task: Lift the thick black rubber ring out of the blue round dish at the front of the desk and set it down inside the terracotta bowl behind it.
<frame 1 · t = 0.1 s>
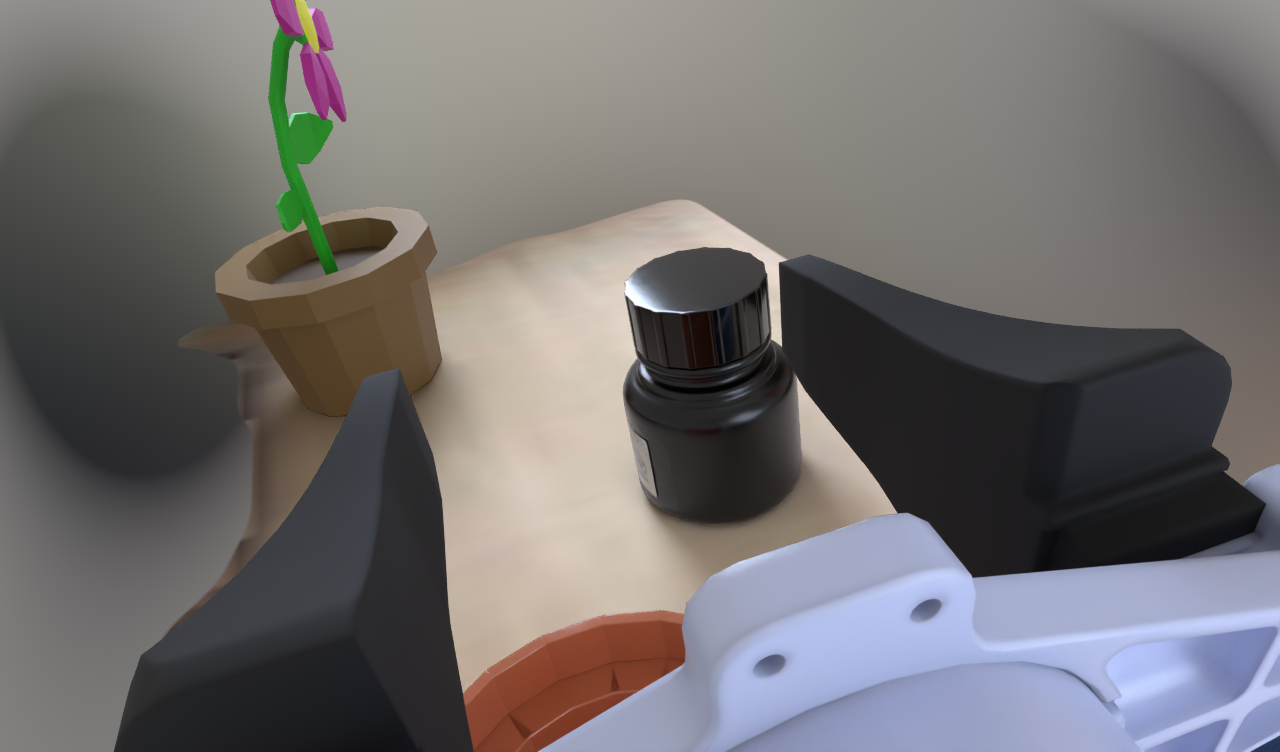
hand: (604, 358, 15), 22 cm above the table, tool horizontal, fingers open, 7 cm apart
ink bottle: (721, 475, 45), on the table
flowerpot: (374, 377, 61), on the table
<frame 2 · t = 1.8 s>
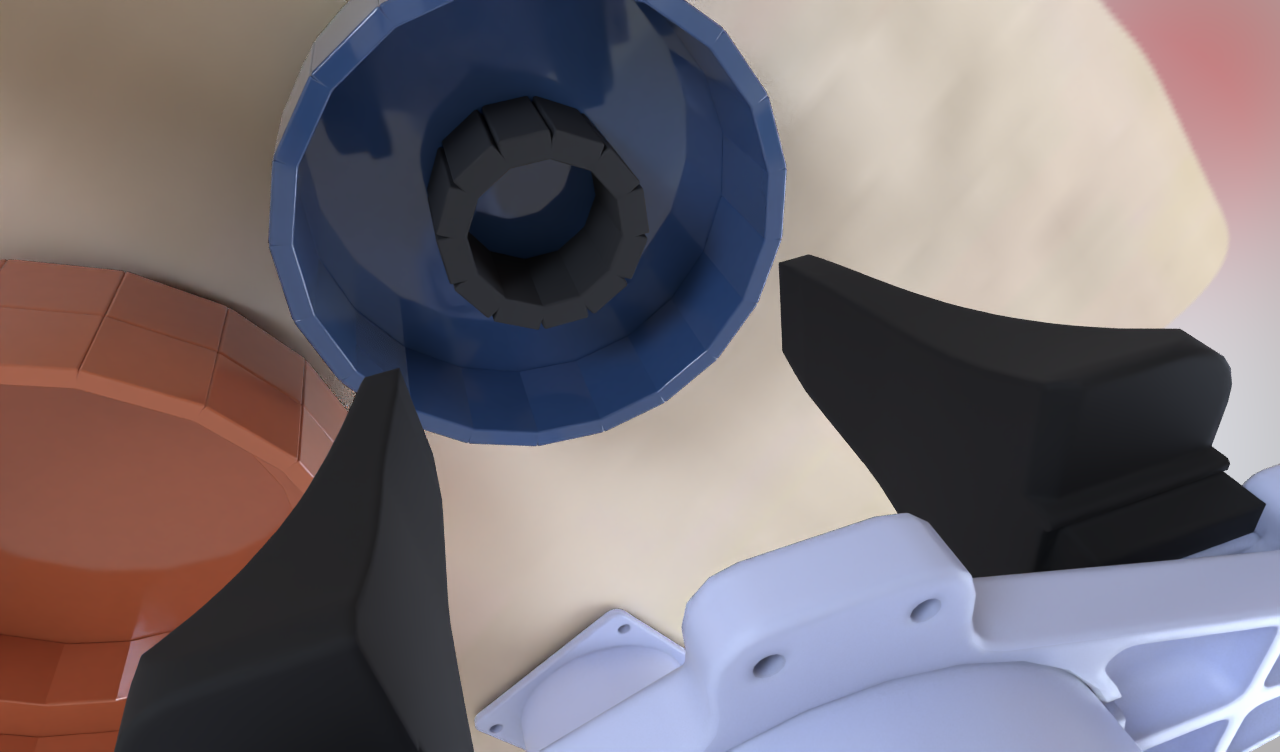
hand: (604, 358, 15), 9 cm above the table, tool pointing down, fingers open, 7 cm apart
bowl: (92, 493, 23), on the table
ring: (526, 193, 22), resting on blue round dish
blue round dish: (523, 186, 22), on the table
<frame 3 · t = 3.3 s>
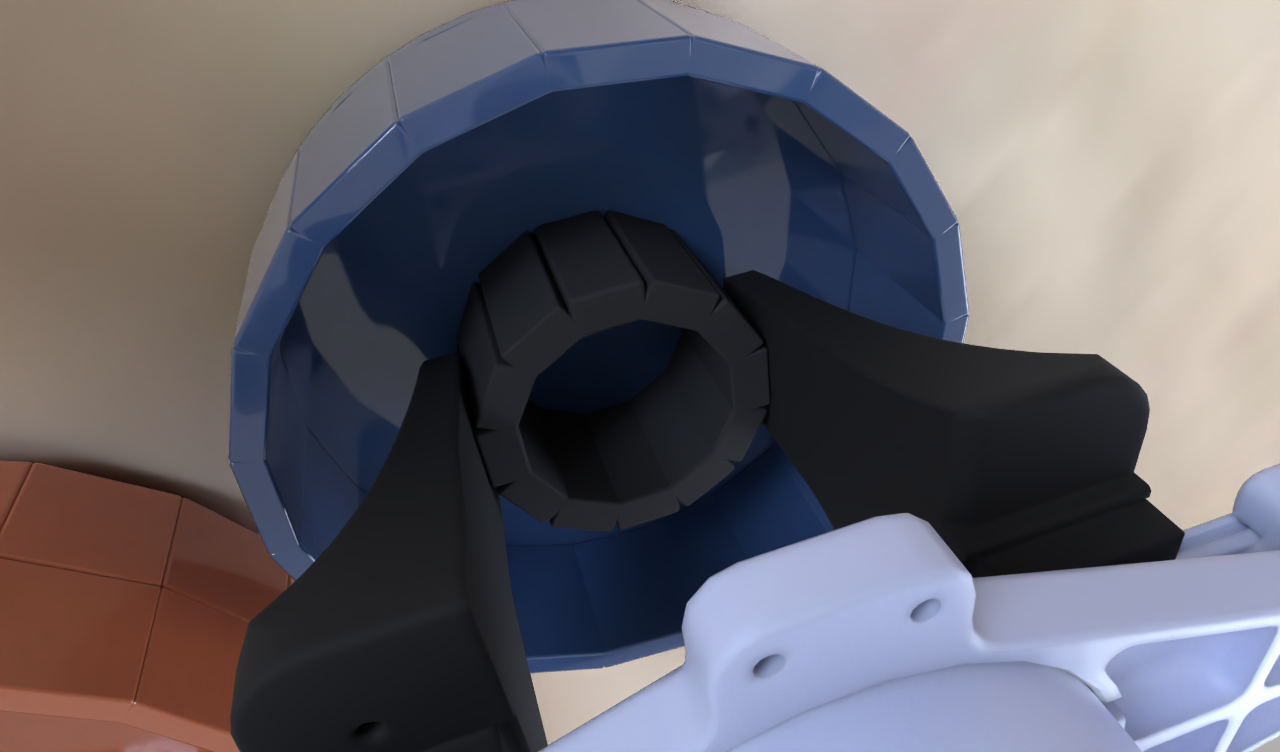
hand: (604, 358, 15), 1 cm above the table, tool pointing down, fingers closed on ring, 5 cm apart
bowl: (7, 718, 18), on the table
ring: (590, 334, 16), point 1 cm above the table, touching blue round dish, gripper
blue round dish: (586, 320, 16), on the table
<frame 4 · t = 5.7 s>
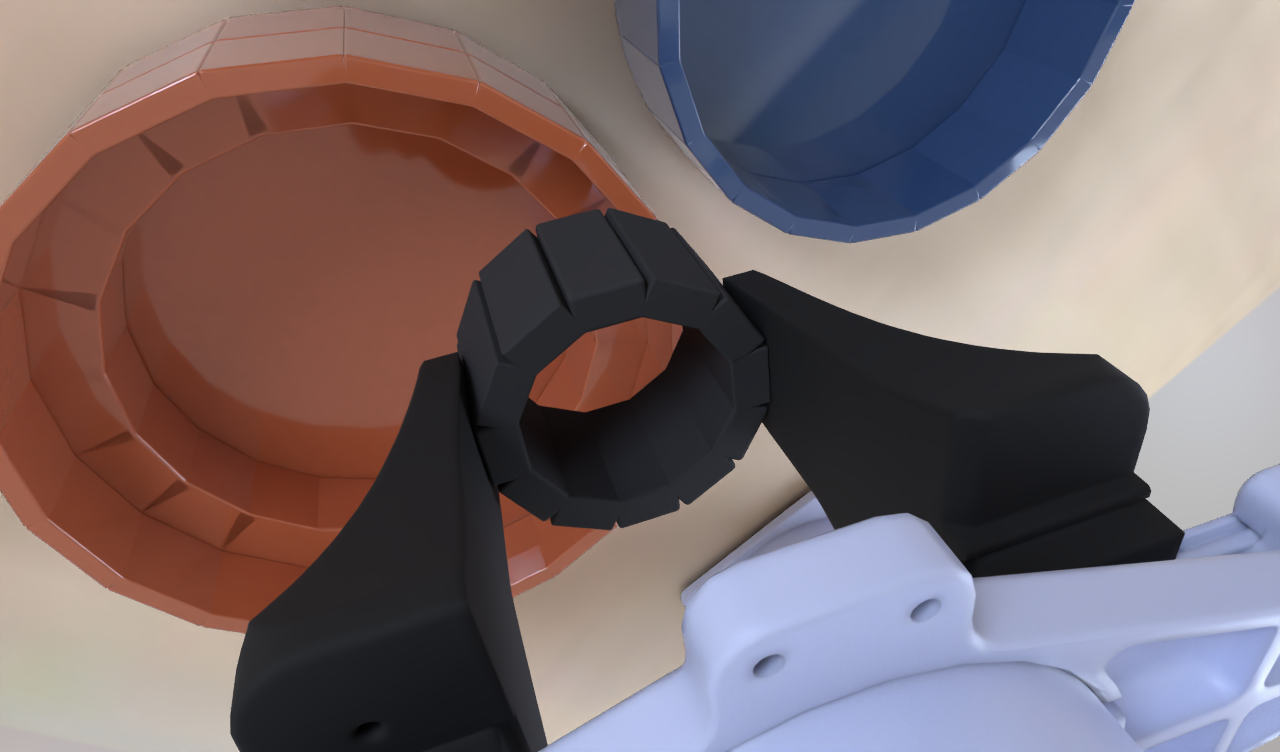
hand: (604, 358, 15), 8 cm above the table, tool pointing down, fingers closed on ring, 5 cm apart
bowl: (368, 304, 22), on the table
ring: (591, 332, 16), point 7 cm above the table, touching gripper
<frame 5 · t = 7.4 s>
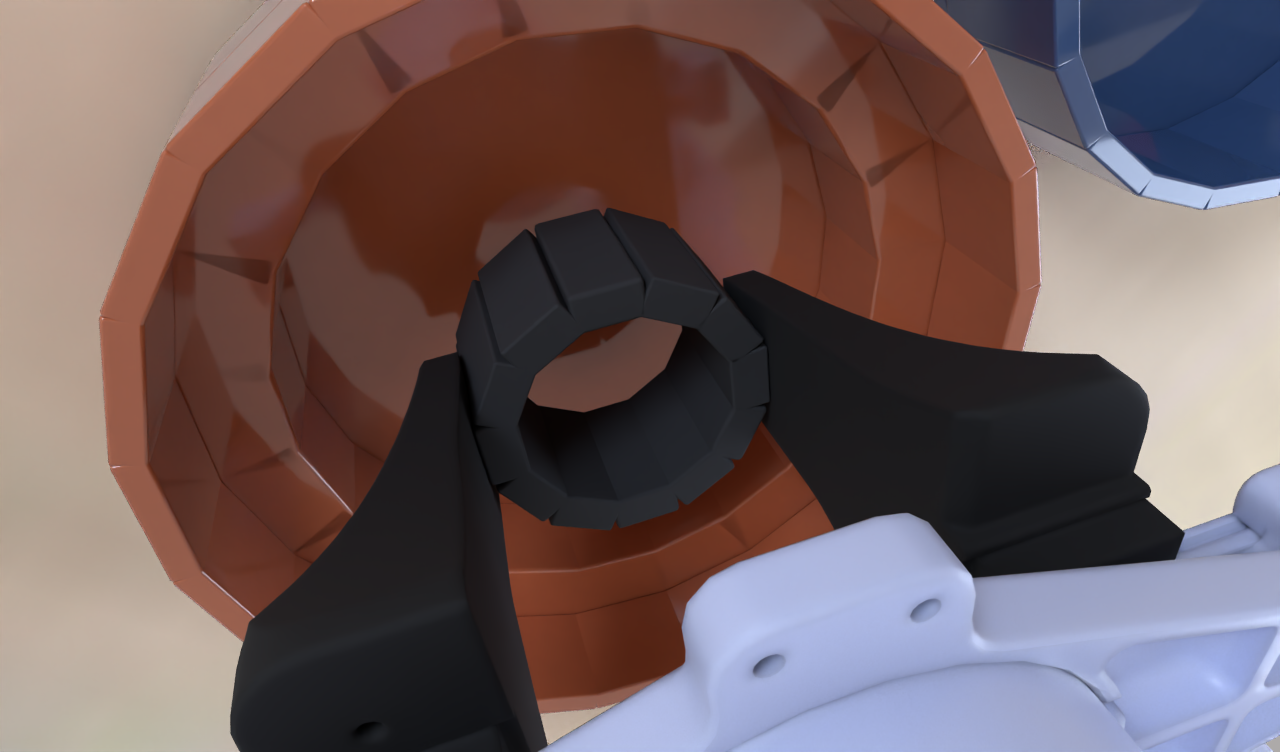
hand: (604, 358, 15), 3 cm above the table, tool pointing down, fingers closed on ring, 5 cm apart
bowl: (570, 285, 17), on the table
ring: (590, 332, 16), point 2 cm above the table, touching gripper
when the fingers open (1 cm above the table, at t = 8.4 s): ring stays where it is, resting on bowl.
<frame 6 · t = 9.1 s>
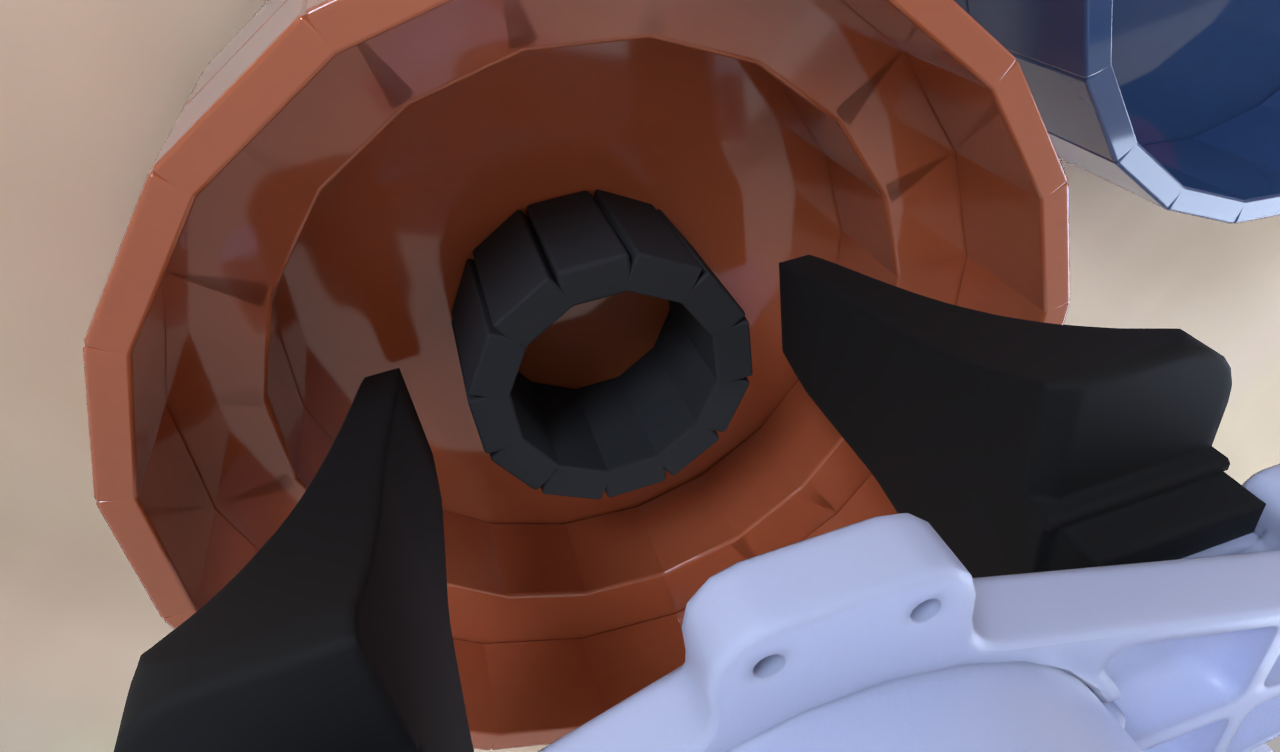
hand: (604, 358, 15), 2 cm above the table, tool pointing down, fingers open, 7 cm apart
bowl: (577, 300, 17), on the table
ring: (581, 310, 16), resting on bowl
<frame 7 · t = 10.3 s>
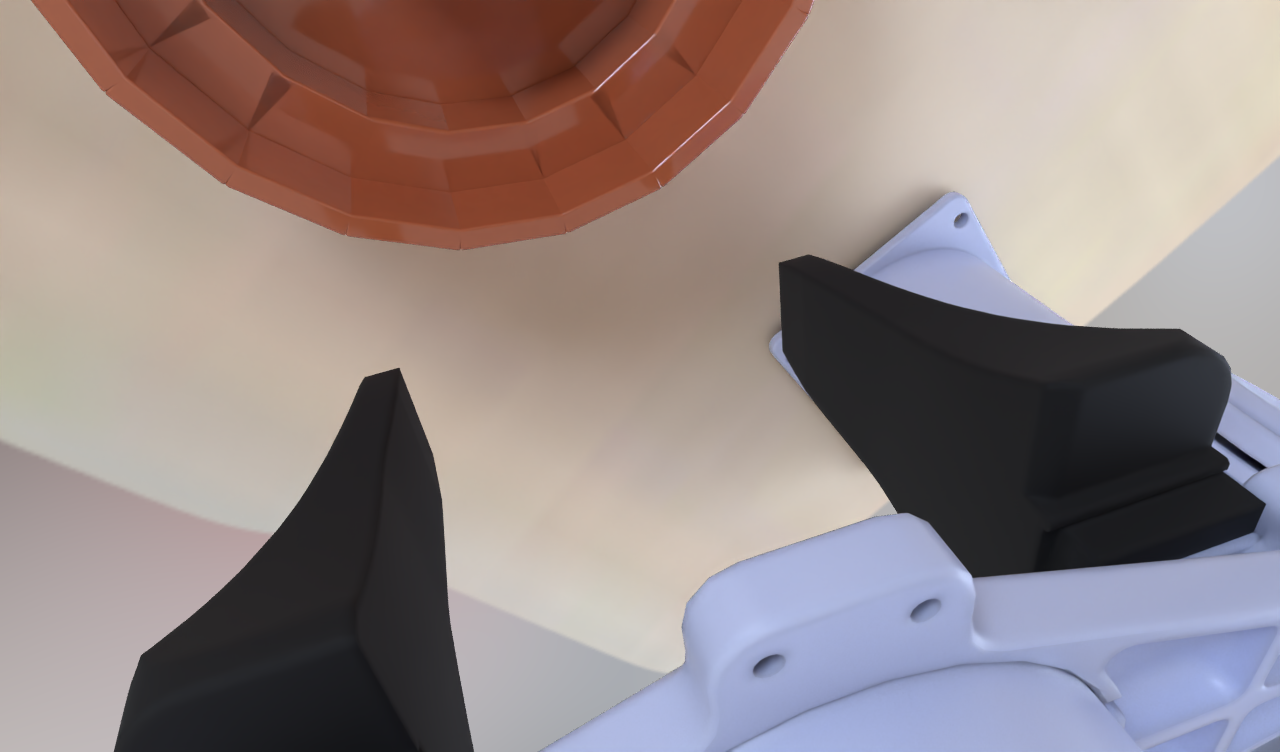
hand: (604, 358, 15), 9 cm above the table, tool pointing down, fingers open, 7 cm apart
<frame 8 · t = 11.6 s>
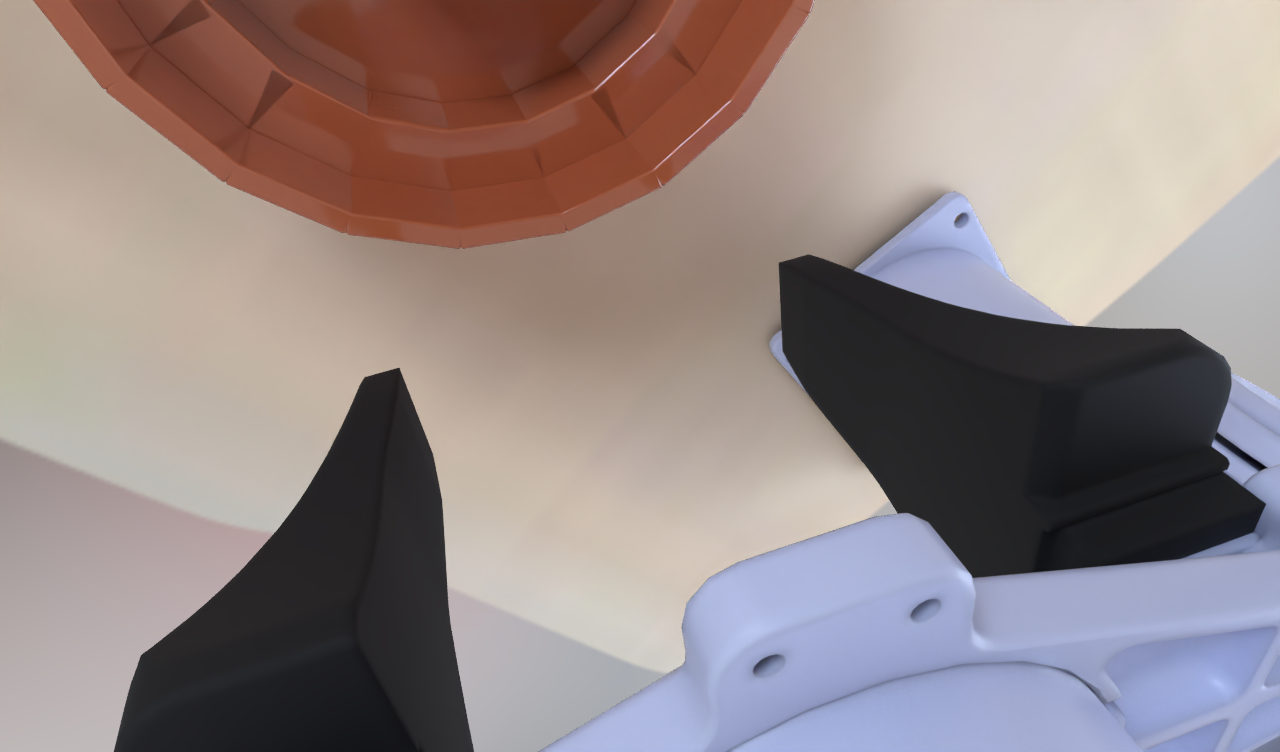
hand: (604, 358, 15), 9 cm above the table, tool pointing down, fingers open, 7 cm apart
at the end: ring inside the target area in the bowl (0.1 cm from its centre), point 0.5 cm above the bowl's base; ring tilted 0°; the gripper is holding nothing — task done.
